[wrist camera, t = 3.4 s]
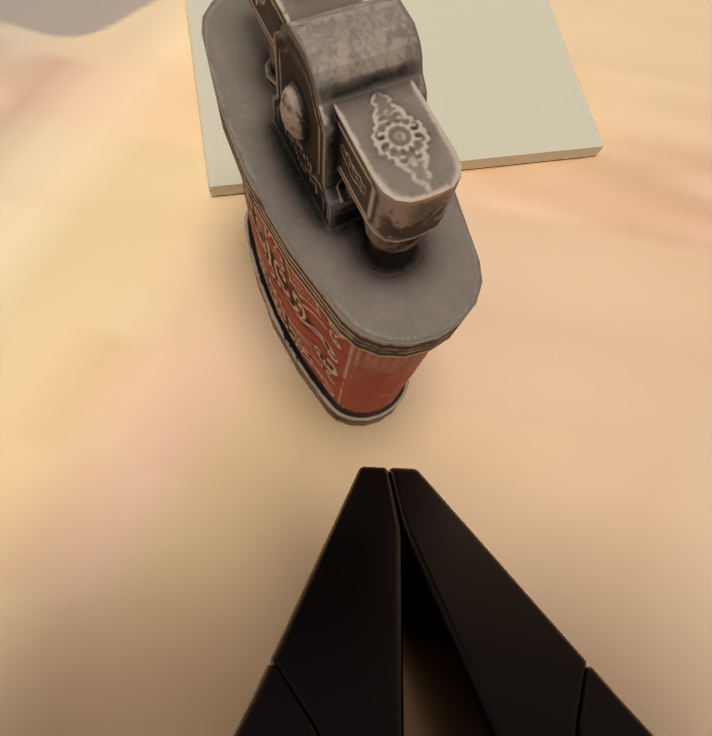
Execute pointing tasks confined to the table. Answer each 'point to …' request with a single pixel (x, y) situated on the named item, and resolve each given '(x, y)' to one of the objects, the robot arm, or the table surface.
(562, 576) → the table surface
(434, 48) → the mat
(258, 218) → the lighter
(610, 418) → the table surface
